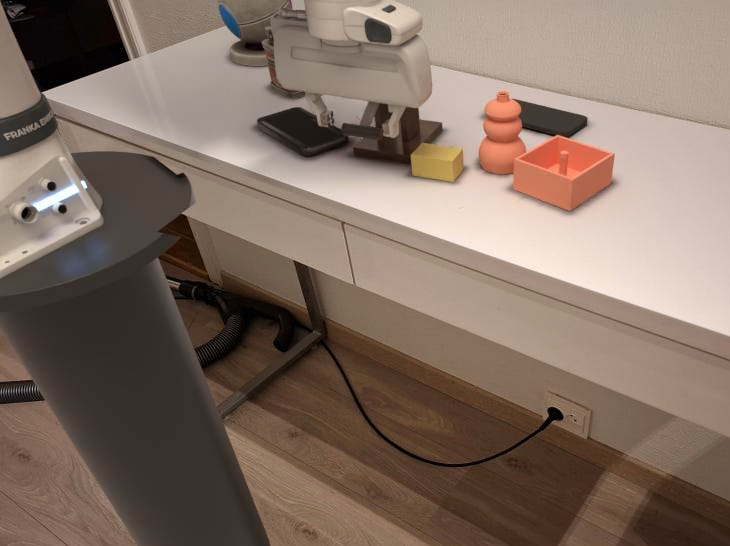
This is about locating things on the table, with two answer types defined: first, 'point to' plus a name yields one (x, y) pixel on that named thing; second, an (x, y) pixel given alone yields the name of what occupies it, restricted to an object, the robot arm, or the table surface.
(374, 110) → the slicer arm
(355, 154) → the brown wooden frame
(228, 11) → the webcam
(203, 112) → the table surface
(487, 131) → the pottery
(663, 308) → the table surface
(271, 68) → the lighter
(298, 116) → the phone
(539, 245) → the table surface
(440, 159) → the butter block
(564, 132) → the phone
